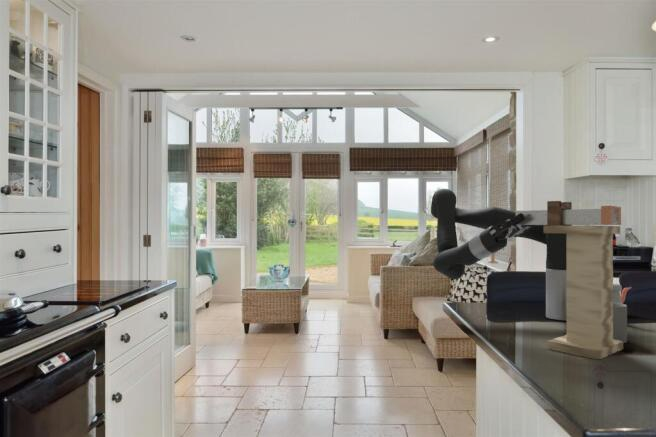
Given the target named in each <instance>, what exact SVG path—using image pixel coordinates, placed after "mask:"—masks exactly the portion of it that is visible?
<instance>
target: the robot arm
mask: <svg viewBox="0 0 656 437" xmlns="http://www.w3.org/2000/svg"><path fill="white" fill-rule="evenodd" d="M456 205H457V196H456V194H455V192H453V191H452V190H451V189H449V188H439V189H438V190H435V192H433V195H432V198H431V205H430V213H431V215H432V216H433V217H434V218H435V219H437V221H436V222H437V226H436V245H437V246H436V247H437V251H438V254H437V255H436V256H435V258H434V260H433V263H432V264H433V268H434V269H435V271H437V272H438V273H440V274H442V275H443V276H444V277H445V276H446V277H447V278H448V279H450V280H458V279H460V278H462V277H463V275H464V274H465V271H466V270H465V269H466V266H467V267H469V266H473V265H474V264H476V263H478V262H480V261H481V260H483V259H486V258H489V257H490V256H492V255H493V254H495V253H497V252H498V251H501V250H503V249H504V248H506V247H507V245H508V238H509V239H512V238H523V239H528V240H532V241H535V242H538V243H540V244H544V245H546V258H545V317H546V318H548V319H551V320H557V321H567V233H544V226H547V225H518V224H519V223H521V222H523V221H524V220H526V218H525V216H524V214H523V213H520V214H518V215H517V216H516V211H512V210H509V209H505V208H502V207H497V206H485V207H481V208H476V209H464V208H459V207H456ZM456 224H461V225H466V226H471V227H475V228H478V229H482V230H483V231H481V232H479V233H478V234H476V235H475V236H473V237H472V238H470V240H468V241H467V242H465V243H464V244H462V245H460V246H459V244H458V237H457V229H456V227H457V226H456Z"/></svg>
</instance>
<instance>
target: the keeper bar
mask: <svg viewBox="0 0 656 437" xmlns="http://www.w3.org/2000/svg"><path fill="white" fill-rule="evenodd" d="M515 213H516V216H517V215H518V214H520V213H523V214H524V216H525V218H526V220H524V221H523V222H521V223H519V224H518V225H547V209H541V210H515ZM561 225H572V226H621V225H622V207H621V206H616V205H601V206H600V208H586V209H583V208H577V209H576V208H575V209H572V210H561Z"/></svg>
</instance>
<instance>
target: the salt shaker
mask: <svg viewBox="0 0 656 437" xmlns="http://www.w3.org/2000/svg"><path fill="white" fill-rule="evenodd" d="M622 291H623V287H622V285H621V284H619V283H613V302H615V303H621V304H623V303H622V300H621V292H622Z"/></svg>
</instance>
